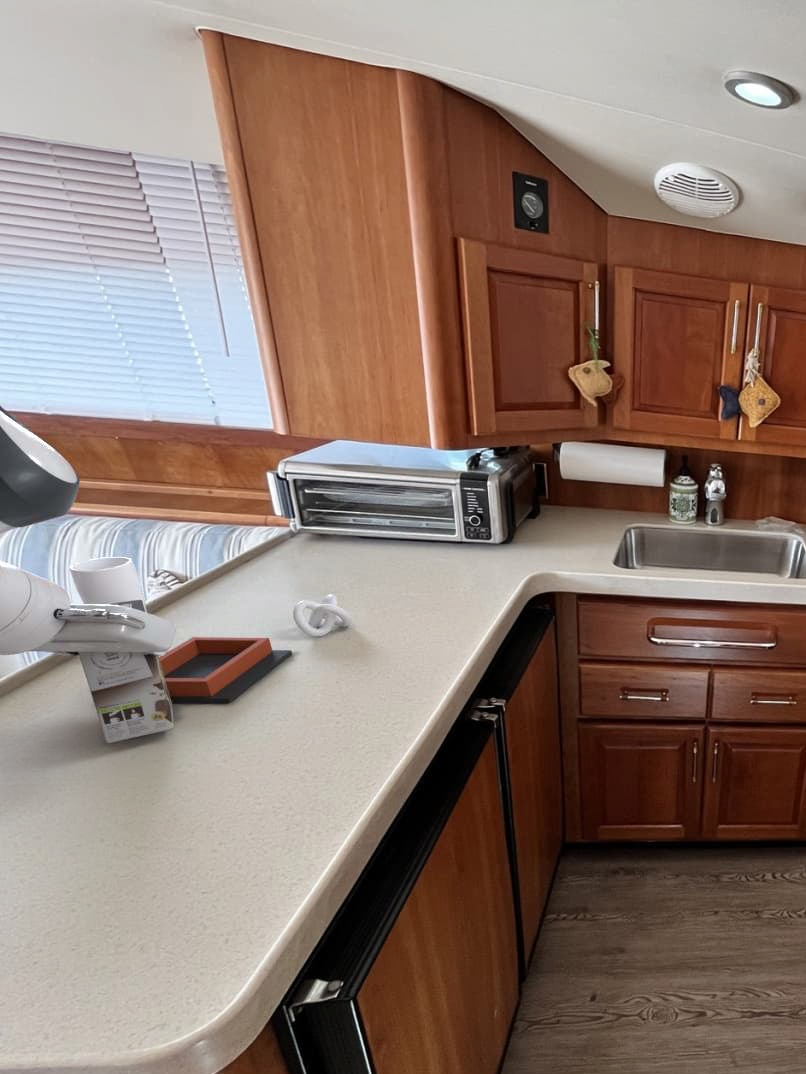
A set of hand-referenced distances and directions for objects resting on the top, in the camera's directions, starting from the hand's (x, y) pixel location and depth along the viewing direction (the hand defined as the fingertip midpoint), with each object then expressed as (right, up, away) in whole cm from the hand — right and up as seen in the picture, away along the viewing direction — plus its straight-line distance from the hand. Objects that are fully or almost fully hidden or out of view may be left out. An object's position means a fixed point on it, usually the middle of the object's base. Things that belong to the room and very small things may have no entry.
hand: (117, 650), depth 80 cm
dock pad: (-5, -5, +17) cm, 18 cm away
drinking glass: (-21, -2, +22) cm, 31 cm away
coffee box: (-1, -11, +4) cm, 11 cm away
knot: (+2, +1, +34) cm, 34 cm away
